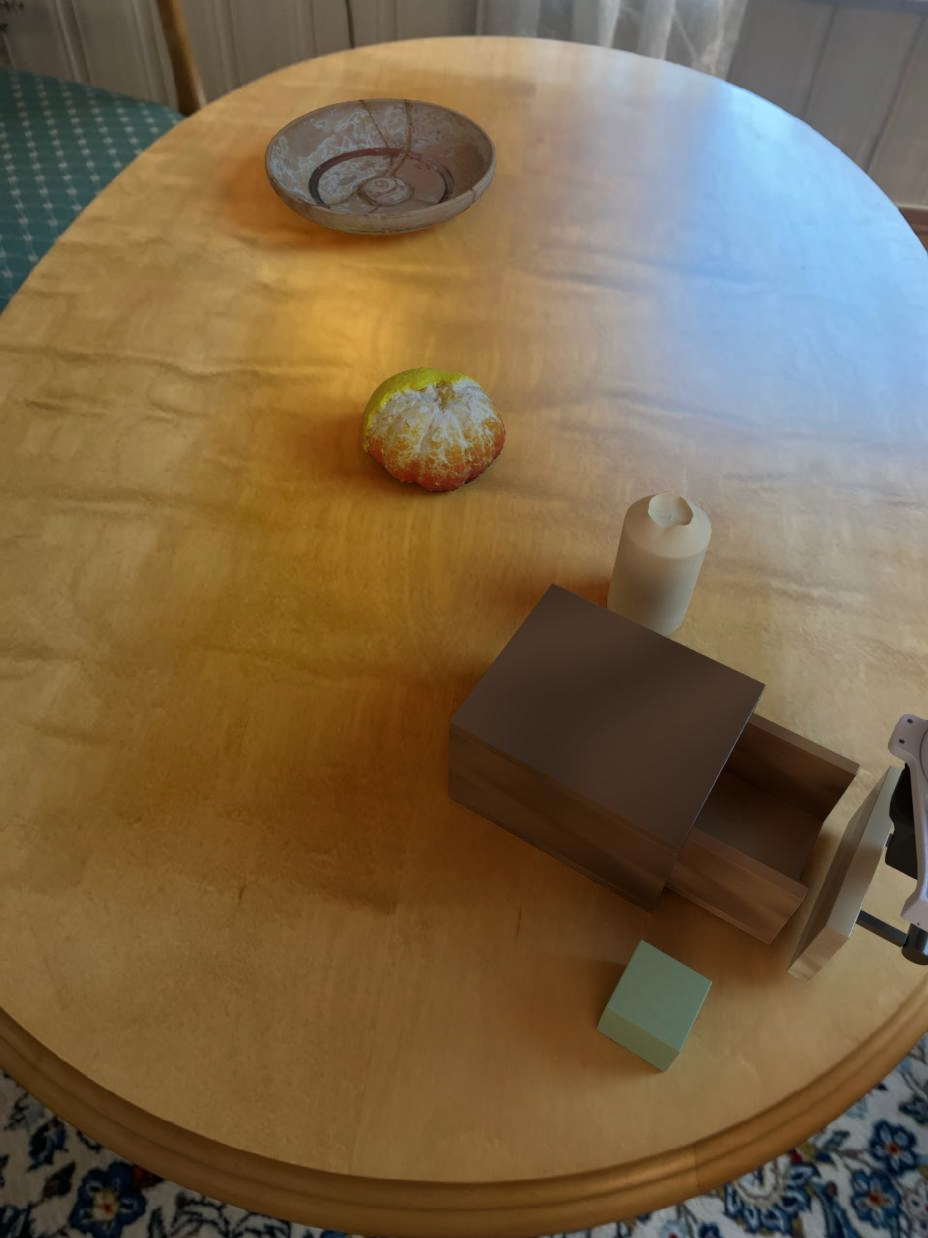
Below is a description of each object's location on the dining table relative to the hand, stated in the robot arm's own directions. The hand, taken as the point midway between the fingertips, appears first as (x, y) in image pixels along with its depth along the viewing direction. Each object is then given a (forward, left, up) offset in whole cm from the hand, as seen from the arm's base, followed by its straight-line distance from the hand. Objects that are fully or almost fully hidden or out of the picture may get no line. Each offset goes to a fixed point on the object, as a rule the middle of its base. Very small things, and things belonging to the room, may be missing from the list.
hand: (908, 862), depth 48 cm
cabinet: (+17, 0, -8) cm, 19 cm away
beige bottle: (+20, -14, -8) cm, 26 cm away
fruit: (+41, -19, -8) cm, 46 cm away
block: (+8, +11, -8) cm, 16 cm away
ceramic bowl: (+67, -49, -8) cm, 83 cm away
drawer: (+5, 0, -7) cm, 9 cm away
